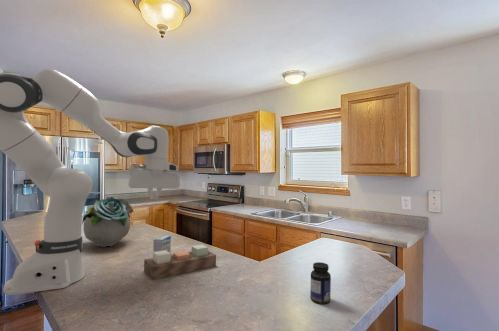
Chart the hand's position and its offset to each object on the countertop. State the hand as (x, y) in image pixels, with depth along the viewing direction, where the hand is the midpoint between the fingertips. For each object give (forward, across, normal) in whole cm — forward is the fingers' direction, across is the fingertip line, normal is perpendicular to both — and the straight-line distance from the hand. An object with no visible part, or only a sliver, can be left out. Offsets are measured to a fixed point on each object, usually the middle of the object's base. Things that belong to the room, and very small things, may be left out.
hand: (154, 199), depth 115 cm
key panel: (+27, +9, -10) cm, 30 cm away
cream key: (+24, +1, -10) cm, 26 cm away
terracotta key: (+25, +9, -10) cm, 29 cm away
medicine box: (+27, +8, +10) cm, 30 cm away
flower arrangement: (+27, -9, +41) cm, 50 cm away
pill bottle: (+26, +35, -58) cm, 73 cm away
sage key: (+23, +17, -10) cm, 31 cm away
